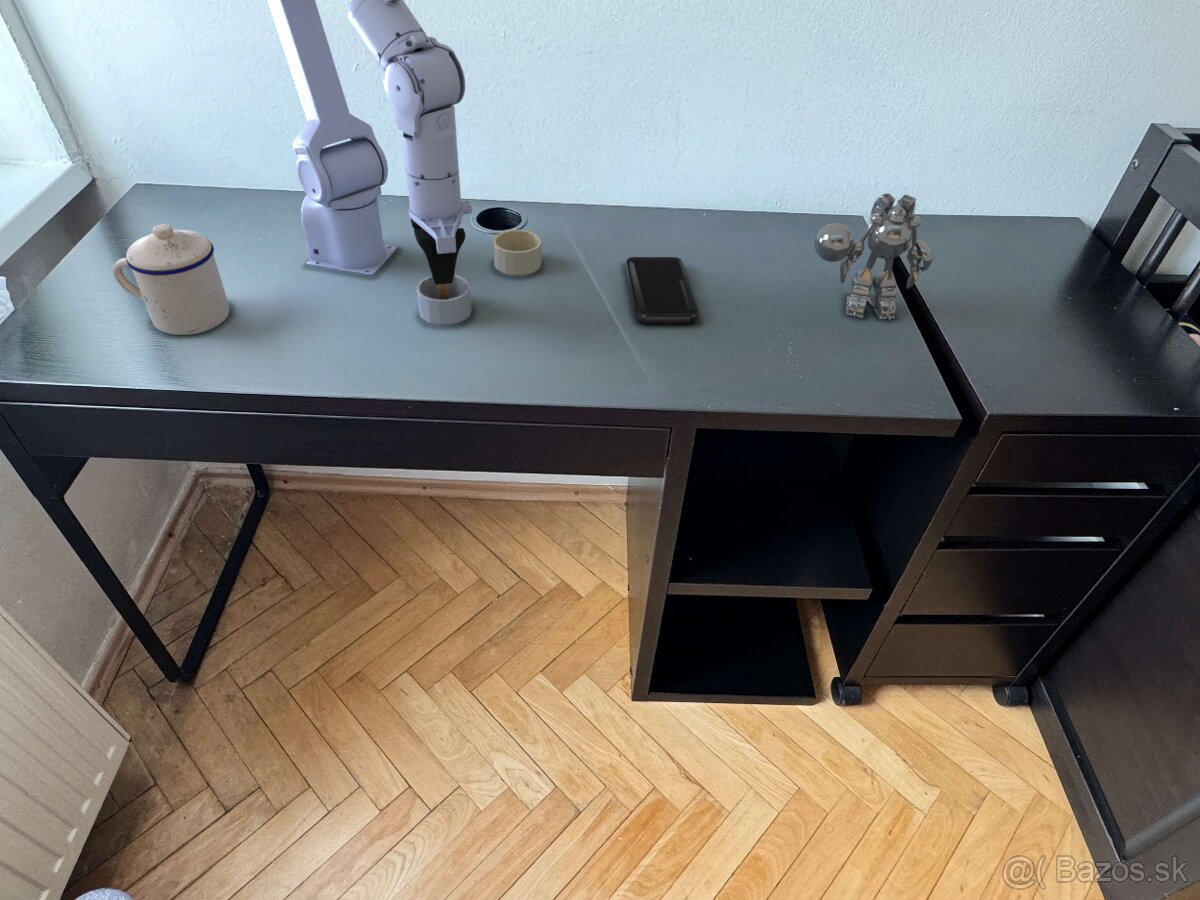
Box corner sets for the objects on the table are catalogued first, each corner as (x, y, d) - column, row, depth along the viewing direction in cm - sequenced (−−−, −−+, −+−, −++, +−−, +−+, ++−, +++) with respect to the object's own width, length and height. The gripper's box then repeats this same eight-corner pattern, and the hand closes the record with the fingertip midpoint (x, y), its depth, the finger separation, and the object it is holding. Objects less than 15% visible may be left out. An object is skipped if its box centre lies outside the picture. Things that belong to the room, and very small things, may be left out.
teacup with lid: (243, 298, 100) (218, 211, 92) (215, 340, 93) (185, 249, 86) (147, 292, 100) (114, 204, 92) (112, 333, 93) (73, 242, 85)
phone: (638, 316, 99) (625, 256, 110) (637, 324, 100) (625, 264, 111) (700, 316, 100) (682, 257, 111) (699, 324, 101) (681, 264, 112)
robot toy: (802, 315, 104) (830, 206, 94) (796, 290, 108) (823, 184, 98) (916, 323, 104) (957, 215, 94) (905, 298, 108) (943, 192, 98)
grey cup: (411, 323, 98) (408, 296, 96) (431, 296, 103) (428, 270, 100) (461, 331, 97) (459, 304, 95) (478, 304, 102) (477, 278, 99)
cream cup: (487, 273, 108) (486, 248, 105) (502, 251, 112) (501, 226, 110) (533, 281, 107) (533, 255, 104) (546, 258, 111) (546, 233, 109)
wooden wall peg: (433, 316, 98) (428, 262, 93) (431, 306, 100) (425, 253, 95) (459, 313, 99) (455, 259, 94) (456, 304, 101) (452, 250, 96)
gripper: (481, 194, 83) (486, 306, 93) (457, 141, 94) (465, 246, 103) (412, 200, 82) (425, 313, 91) (396, 145, 92) (409, 252, 101)
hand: (442, 278), depth 97 cm, fingers closed on wooden wall peg, 1 cm apart
